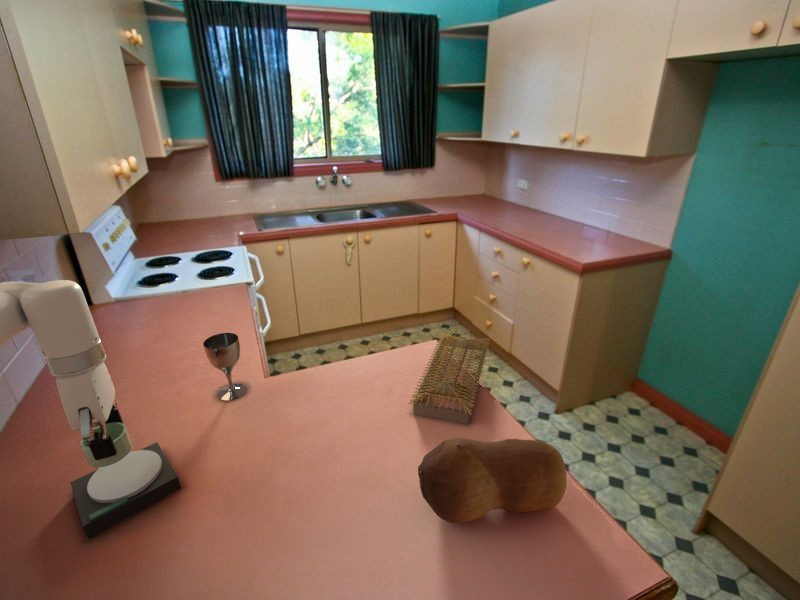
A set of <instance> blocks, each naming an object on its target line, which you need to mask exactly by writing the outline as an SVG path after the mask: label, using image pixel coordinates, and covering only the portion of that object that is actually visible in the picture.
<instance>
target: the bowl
mask: <svg viewBox="0 0 800 600" xmlns="http://www.w3.org/2000/svg"><path fill="white" fill-rule="evenodd" d="M123 423H124V422H123ZM123 423H120V422H112V423H107V424H106V429H107V434H108V435H111V437H112V440H113V442H114V445H115V448H116V450H117V454H116V455H115V456H111V457H108V458H104V459H100V460H95V459H94V457H93V454H92V452H91V450H90V447H89V445H88V444H87V443H86V441H85V440H83V439H82V438H81V439H80V442H79V445H80V448H81V450H82V452H83V454H84V457H85V460H86V462H87V464H88V466H90V467H93V468H100V467H105V466H109V465H112V464H115V463H117V462H118V461H120V460H122V459H123V458H124V457H125V456H127V455H128V453H129V452H132V448H133V441H132V439H131V437H130V434H129V430H128V428H127V426H126V424H125V423H124V424H123ZM93 431H94V432H100V433H101V430H100V425H99V426H95V427H93Z"/></svg>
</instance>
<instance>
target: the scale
mask: <svg viewBox="0 0 800 600" xmlns="http://www.w3.org/2000/svg"><path fill="white" fill-rule="evenodd" d="M69 483H70V488H71V491H72V494H73V497H74V501H75V504H76V508H77V512H78V515H79V519H80V521H81V524H82V528H83V530H84V532H85V535H86V536H87V539H88V540H89V539H91V538H93V537H95V536H97V535H99V534H101V533H103V532H104V531H106V530H108V529H110V528H111V527H113V526H115V525H117V524H119V523H121V522H123V521H125V520H126V519H128V518H130V517H132V516H133V515H135V514H137V513H139V512H141V511H143V510H144V509H147V508H148V507H150V506H152V505H154V504H155V503H158V502H159V501H161V500H163V499H165V498H166V497H168V496H170V495H172V494H175V492H178V491H180V490H181V489H182V485H181V481H180V478H179V476H178V474H177V472H176V471H175V469H174V467H173V466H172V464H171V462H170V461H169V459H168V458H167V455H166V454H165V452H164V451H163V448H162V447H161V445H160V444H159V442H158V441H156V442H154V443H152V444H149V445H147V446H145V447H143V448H141V449H139V450H133V451H132V450H131V451H130V452H129V453H128V455H127V456H125V457H124V458H123V459H122V460H120V461H118V462H117V463H115V464H112V465H109V466H105V467H98V469H96V470H93V471H91V472H89V473H87V474H84V475H82V476H80V477H79V478H76V479H74V480H72V481H70V482H69Z"/></svg>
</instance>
